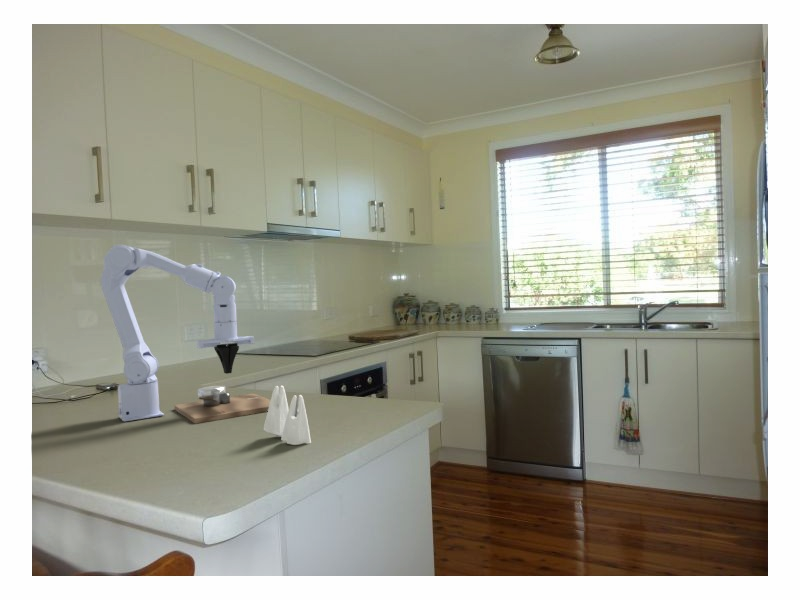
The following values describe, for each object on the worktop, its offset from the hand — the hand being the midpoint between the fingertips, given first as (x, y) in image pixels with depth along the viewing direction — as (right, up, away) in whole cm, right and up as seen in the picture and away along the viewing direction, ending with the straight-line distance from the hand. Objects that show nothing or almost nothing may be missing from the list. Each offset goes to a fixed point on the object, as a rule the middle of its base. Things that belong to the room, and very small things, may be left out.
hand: (227, 373), depth 149 cm
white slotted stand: (+22, -10, -34) cm, 42 cm away
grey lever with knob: (-2, -6, -3) cm, 7 cm away
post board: (0, -10, 0) cm, 10 cm away
